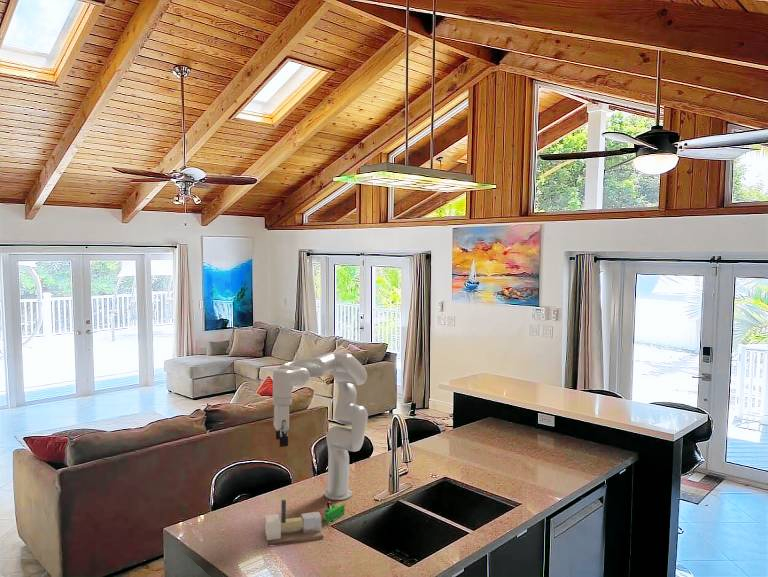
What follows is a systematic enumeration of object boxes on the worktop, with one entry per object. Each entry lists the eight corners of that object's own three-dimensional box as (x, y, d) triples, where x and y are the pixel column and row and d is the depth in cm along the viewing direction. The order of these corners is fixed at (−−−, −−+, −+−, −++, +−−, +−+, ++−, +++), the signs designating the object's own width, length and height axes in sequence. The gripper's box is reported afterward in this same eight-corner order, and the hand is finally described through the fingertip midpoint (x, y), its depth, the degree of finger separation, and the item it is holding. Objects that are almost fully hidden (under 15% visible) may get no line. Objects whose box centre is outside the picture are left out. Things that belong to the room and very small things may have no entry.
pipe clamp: (337, 513, 247) (337, 502, 247) (344, 515, 245) (344, 504, 245) (320, 522, 237) (320, 511, 237) (327, 524, 235) (327, 513, 235)
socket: (265, 531, 225) (265, 515, 225) (277, 530, 227) (278, 514, 227) (267, 540, 219) (267, 523, 218) (280, 538, 220) (280, 521, 220)
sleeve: (301, 528, 229) (301, 513, 228) (318, 526, 231) (318, 511, 231) (303, 533, 224) (303, 519, 224) (321, 531, 226) (321, 516, 226)
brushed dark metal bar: (272, 528, 224) (272, 500, 224) (305, 524, 228) (305, 496, 228) (273, 532, 221) (273, 503, 221) (306, 527, 225) (307, 499, 225)
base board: (264, 532, 228) (264, 529, 228) (316, 525, 234) (316, 522, 234) (268, 546, 216) (268, 543, 216) (323, 538, 223) (323, 535, 223)
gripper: (269, 396, 237) (269, 437, 238) (276, 406, 221) (275, 450, 222) (288, 394, 240) (287, 435, 241) (295, 404, 223) (294, 448, 224)
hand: (281, 442), depth 231 cm, fingers open, 9 cm apart
